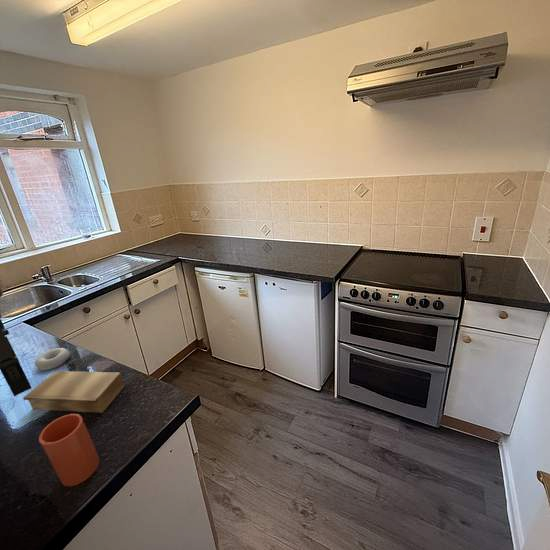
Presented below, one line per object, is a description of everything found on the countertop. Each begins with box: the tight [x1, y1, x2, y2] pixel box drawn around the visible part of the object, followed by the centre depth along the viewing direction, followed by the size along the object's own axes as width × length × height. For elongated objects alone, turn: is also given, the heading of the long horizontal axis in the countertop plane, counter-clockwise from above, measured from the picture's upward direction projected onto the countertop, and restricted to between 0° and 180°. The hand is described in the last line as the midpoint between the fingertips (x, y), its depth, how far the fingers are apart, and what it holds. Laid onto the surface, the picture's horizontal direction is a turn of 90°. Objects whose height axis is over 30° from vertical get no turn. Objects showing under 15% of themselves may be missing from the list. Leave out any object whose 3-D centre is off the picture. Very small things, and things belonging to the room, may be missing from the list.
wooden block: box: [22, 370, 126, 414], centre depth 85 cm, size 22×11×5 cm, turn 82°
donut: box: [34, 347, 71, 371], centre depth 103 cm, size 10×4×10 cm
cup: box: [38, 413, 100, 487], centre depth 63 cm, size 7×7×12 cm
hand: (16, 377), depth 62 cm, fingers open, 13 cm apart
